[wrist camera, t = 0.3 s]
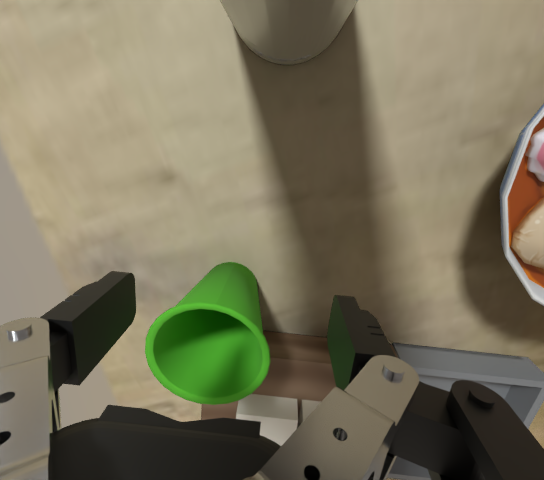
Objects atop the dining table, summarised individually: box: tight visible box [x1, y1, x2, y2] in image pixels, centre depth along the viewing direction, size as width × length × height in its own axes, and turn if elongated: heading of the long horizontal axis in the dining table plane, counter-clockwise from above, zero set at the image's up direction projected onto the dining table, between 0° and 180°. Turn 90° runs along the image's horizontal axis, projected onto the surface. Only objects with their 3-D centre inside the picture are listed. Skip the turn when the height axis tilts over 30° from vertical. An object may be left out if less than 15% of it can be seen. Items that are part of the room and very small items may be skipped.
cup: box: [145, 262, 271, 405], centre depth 27 cm, size 9×9×11 cm
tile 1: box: [236, 394, 298, 446], centre depth 32 cm, size 6×6×2 cm
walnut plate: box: [201, 331, 399, 425], centre depth 35 cm, size 16×20×4 cm
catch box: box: [387, 343, 544, 480], centre depth 35 cm, size 17×15×4 cm
